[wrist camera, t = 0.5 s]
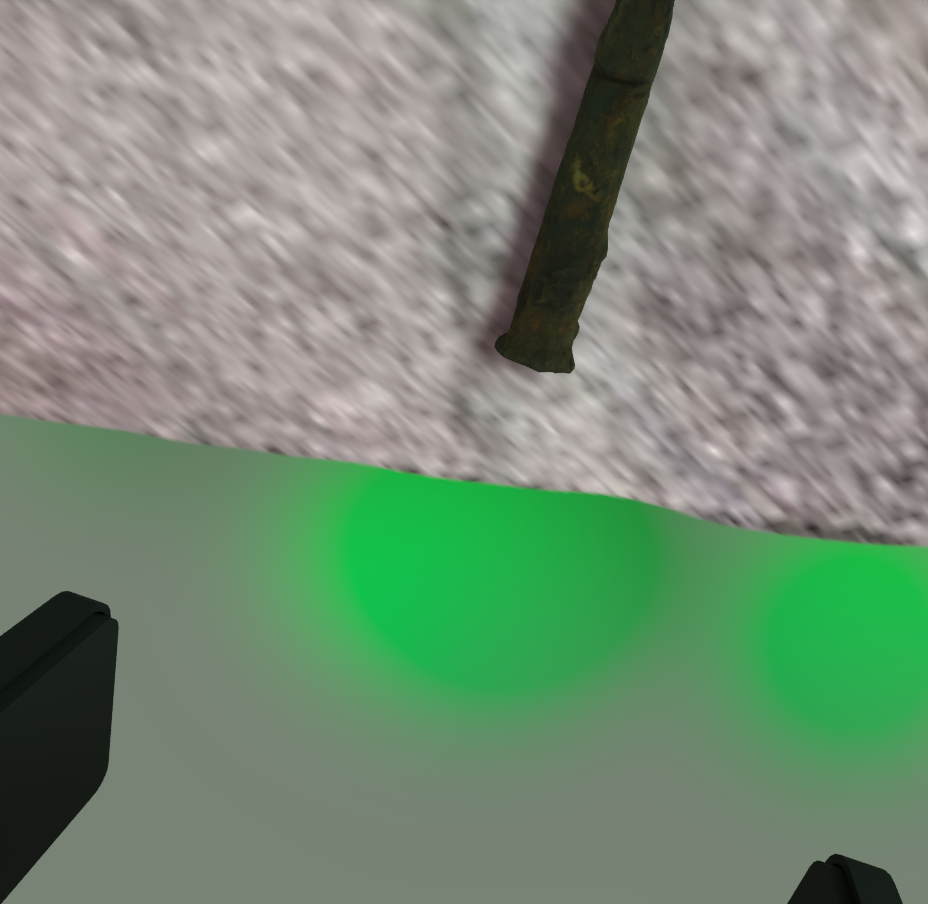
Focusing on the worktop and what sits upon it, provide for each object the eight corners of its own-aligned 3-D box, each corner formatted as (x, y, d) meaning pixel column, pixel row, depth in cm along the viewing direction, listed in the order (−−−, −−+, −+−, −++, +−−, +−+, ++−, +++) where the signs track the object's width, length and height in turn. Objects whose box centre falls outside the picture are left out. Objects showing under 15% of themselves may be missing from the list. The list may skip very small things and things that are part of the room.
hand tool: (570, 367, 39) (566, 390, 34) (498, 341, 39) (485, 361, 34) (731, -43, 31) (750, -79, 27) (641, -73, 32) (647, -113, 27)
